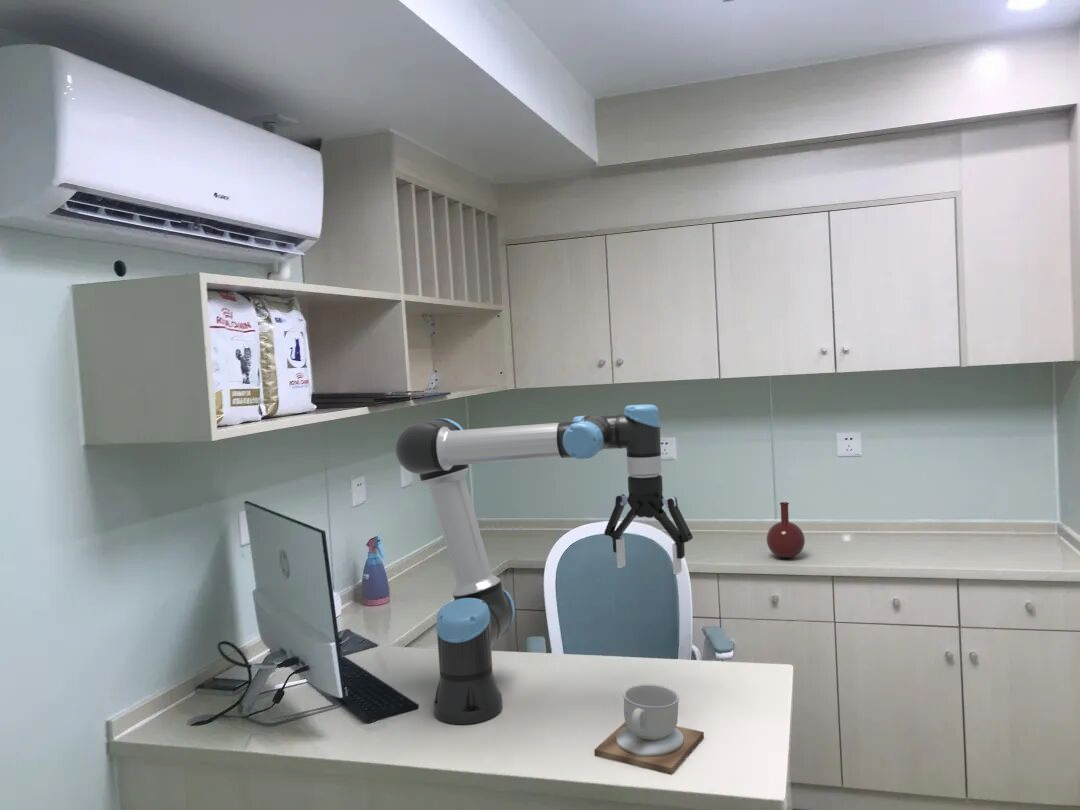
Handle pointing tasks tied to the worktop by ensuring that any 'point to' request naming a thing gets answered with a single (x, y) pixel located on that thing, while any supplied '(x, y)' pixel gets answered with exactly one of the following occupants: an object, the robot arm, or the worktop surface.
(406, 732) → the worktop surface
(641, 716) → the teacup
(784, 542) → the round-bottom flask
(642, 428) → the robot arm
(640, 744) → the walnut board
